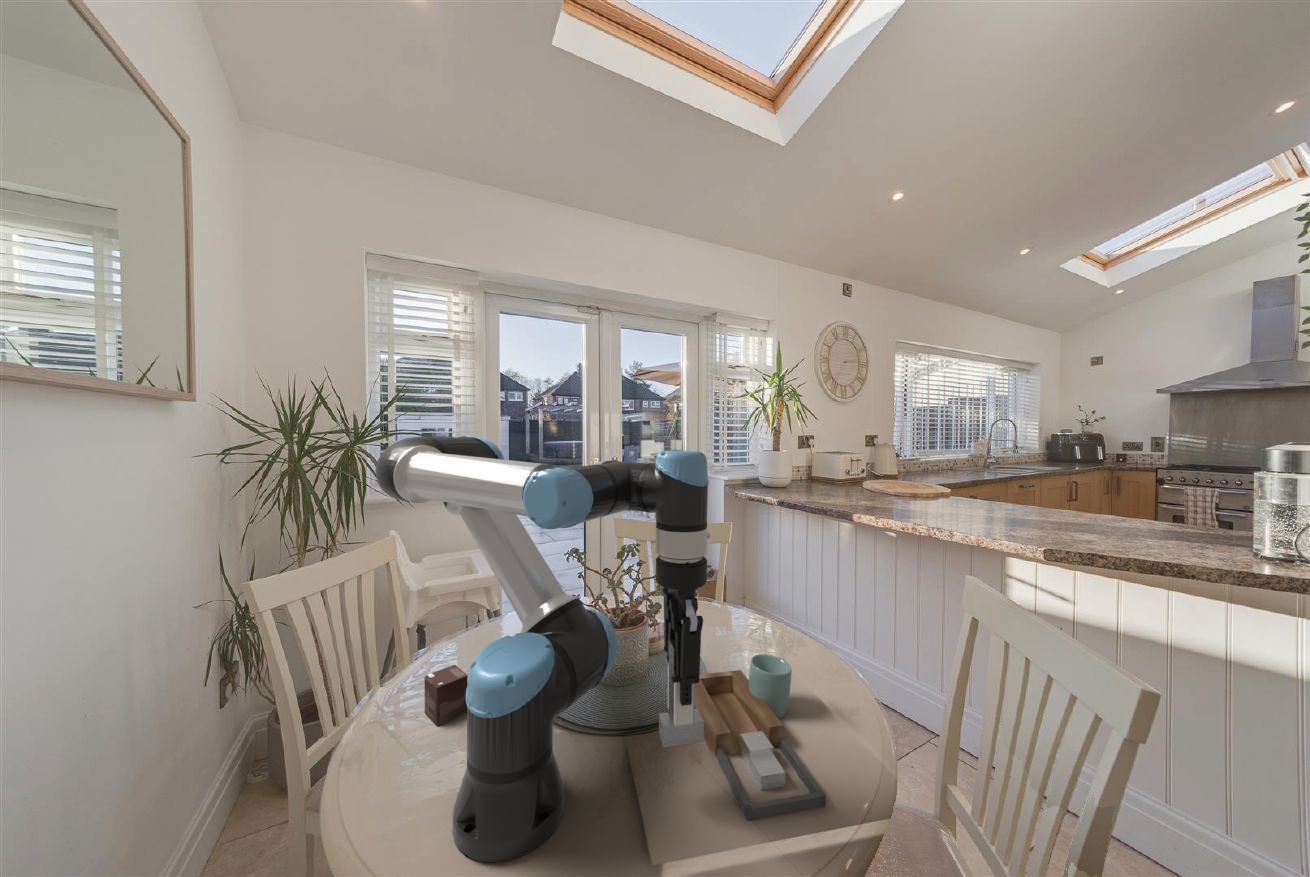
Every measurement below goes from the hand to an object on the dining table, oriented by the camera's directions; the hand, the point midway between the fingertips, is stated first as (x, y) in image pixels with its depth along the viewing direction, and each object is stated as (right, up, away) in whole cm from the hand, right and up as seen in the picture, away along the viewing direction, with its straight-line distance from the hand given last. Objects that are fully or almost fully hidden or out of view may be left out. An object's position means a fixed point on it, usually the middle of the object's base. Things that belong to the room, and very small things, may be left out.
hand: (680, 714), depth 66 cm
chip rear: (+13, -12, +7) cm, 19 cm away
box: (-44, -13, +21) cm, 50 cm away
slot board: (+10, -13, +18) cm, 24 cm away
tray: (+14, -13, +3) cm, 19 cm away
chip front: (+14, -13, +3) cm, 19 cm away
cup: (+18, -13, +21) cm, 30 cm away
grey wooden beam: (0, -3, 0) cm, 3 cm away
